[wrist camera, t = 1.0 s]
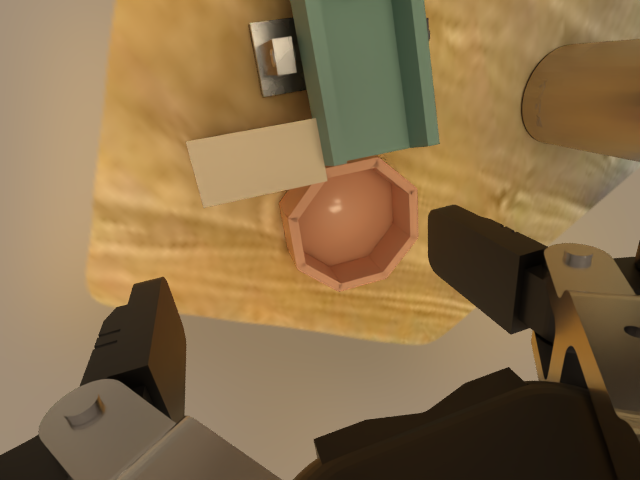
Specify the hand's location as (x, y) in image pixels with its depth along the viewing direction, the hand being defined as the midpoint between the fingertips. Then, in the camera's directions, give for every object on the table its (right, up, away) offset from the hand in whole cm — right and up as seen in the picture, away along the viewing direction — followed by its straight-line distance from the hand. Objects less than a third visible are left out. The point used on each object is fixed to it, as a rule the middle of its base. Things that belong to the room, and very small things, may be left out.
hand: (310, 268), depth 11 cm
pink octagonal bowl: (+2, +3, +25) cm, 25 cm away
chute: (-2, +12, +14) cm, 19 cm away
